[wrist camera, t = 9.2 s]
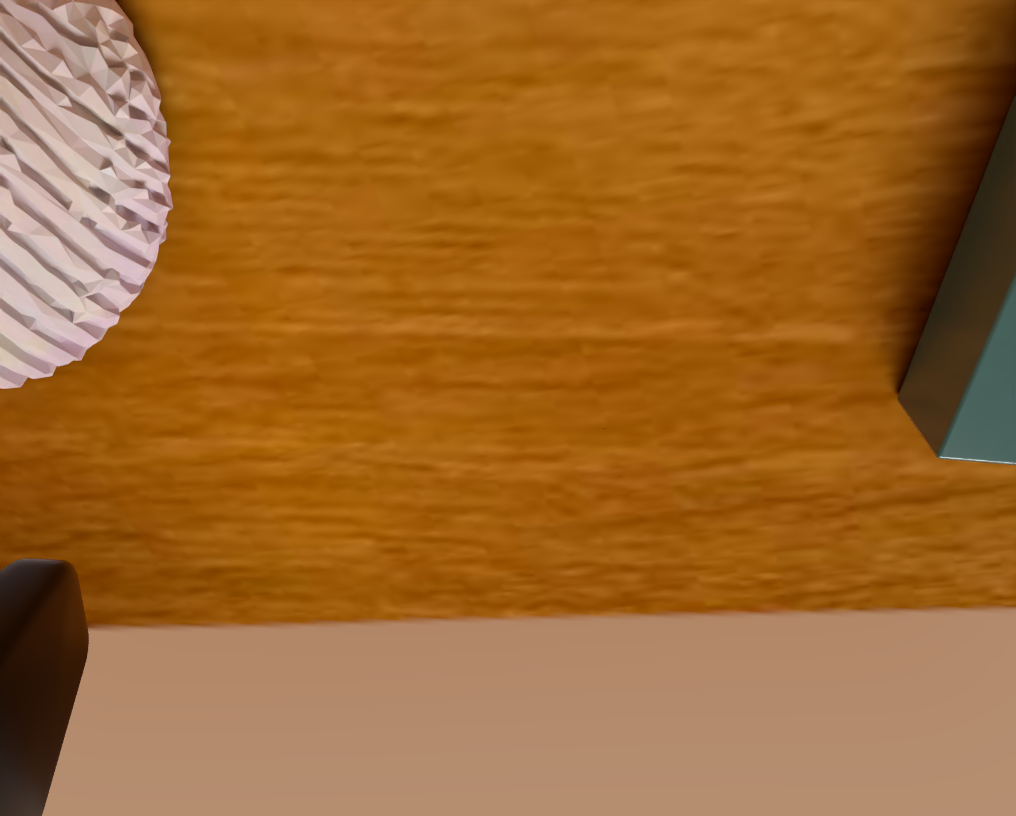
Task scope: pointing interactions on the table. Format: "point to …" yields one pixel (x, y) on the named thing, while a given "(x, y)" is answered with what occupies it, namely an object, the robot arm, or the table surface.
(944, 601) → the table surface
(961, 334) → the teal push button box
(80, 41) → the seashell
